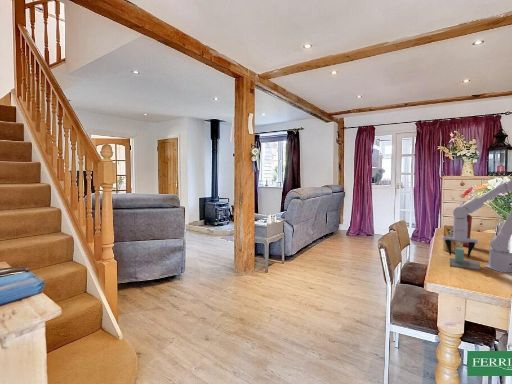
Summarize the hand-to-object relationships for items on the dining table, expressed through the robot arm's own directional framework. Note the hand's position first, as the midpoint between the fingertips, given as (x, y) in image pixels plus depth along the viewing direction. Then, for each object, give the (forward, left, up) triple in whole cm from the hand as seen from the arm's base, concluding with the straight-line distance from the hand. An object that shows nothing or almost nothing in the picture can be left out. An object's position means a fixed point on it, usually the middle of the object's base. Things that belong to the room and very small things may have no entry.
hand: (459, 255), depth 148 cm
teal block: (0, 0, -3) cm, 3 cm away
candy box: (+18, -13, -4) cm, 22 cm away
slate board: (-3, +1, -3) cm, 5 cm away
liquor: (+28, -31, -4) cm, 42 cm away
